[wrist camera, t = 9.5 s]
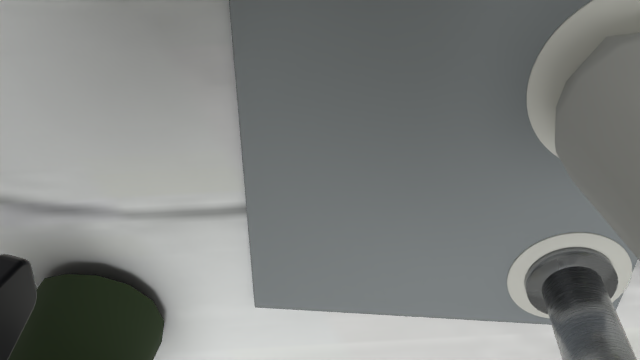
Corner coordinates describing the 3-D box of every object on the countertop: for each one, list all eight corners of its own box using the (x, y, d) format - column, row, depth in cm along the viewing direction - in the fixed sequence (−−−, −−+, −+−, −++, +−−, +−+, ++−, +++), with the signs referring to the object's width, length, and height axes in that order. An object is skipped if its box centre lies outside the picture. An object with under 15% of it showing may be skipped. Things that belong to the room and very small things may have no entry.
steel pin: (515, 303, 26) (562, 484, 20) (533, 243, 24) (592, 422, 18) (599, 308, 26) (674, 492, 20) (624, 247, 24) (717, 430, 18)
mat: (255, 302, 28) (254, 309, 28) (192, -473, 13) (187, -479, 13) (628, 324, 27) (631, 331, 27) (999, -483, 12) (1017, -490, 12)
